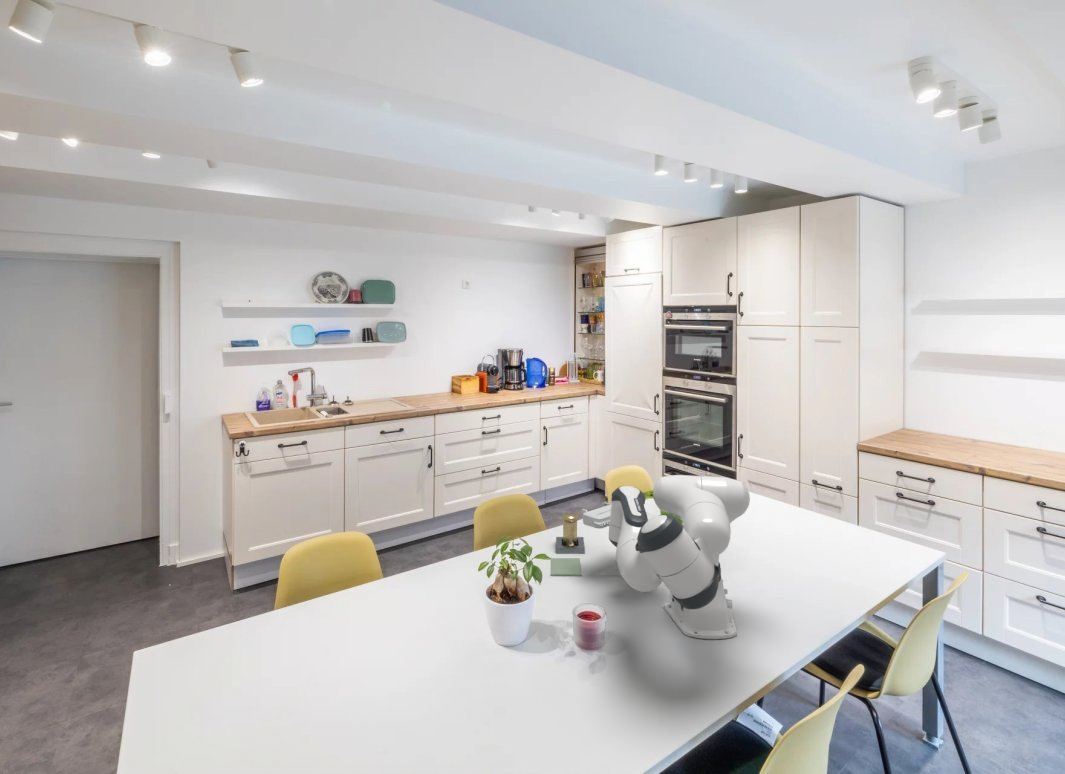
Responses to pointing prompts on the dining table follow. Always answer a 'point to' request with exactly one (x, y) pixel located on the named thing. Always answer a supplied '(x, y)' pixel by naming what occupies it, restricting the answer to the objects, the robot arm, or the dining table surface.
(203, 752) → the dining table surface
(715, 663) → the dining table surface
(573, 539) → the olive metal cylinder
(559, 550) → the housing
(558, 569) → the mat
